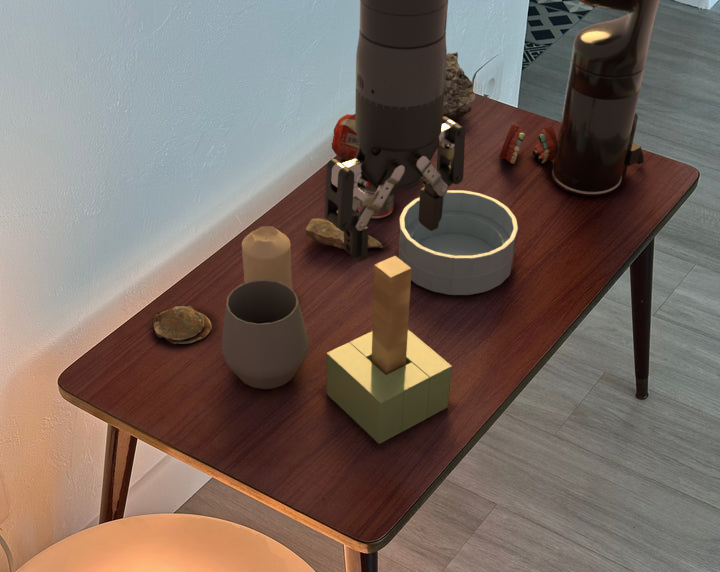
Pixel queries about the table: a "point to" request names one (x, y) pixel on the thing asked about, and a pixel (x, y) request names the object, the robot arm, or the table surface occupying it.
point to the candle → (267, 256)
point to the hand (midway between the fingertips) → (393, 241)
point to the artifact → (332, 234)
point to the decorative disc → (181, 325)
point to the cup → (264, 333)
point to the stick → (390, 314)
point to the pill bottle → (385, 209)
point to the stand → (387, 386)
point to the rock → (457, 90)
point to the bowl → (459, 244)
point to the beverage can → (345, 138)
